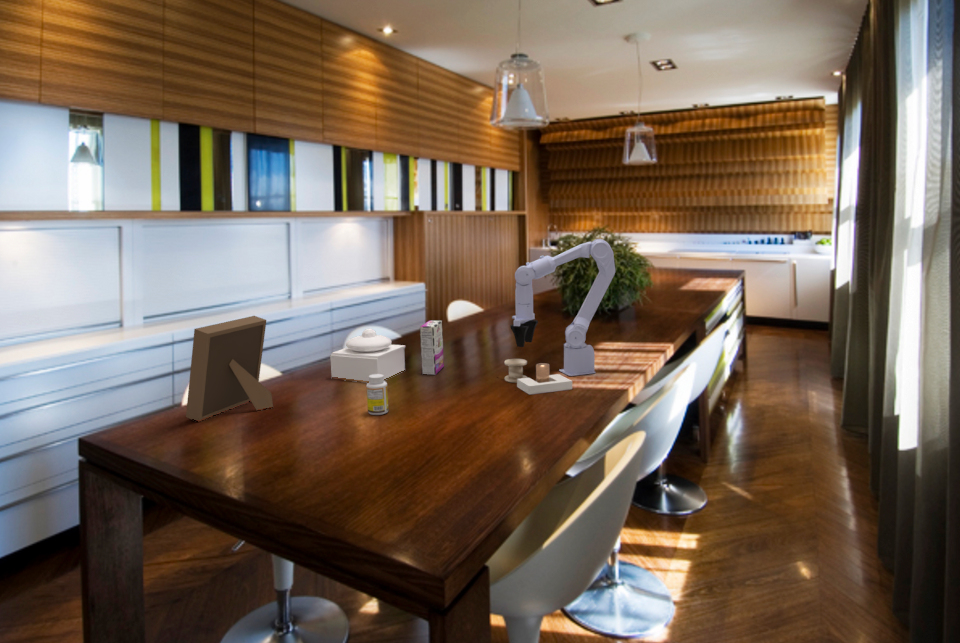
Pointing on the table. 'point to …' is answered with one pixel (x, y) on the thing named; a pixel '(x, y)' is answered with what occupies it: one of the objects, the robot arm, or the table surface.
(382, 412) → the supplement bottle
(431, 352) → the candy bar box
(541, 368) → the copper peg
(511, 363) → the bobbin
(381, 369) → the butter dish
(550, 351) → the table surface
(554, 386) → the notched board
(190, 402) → the photo frame
